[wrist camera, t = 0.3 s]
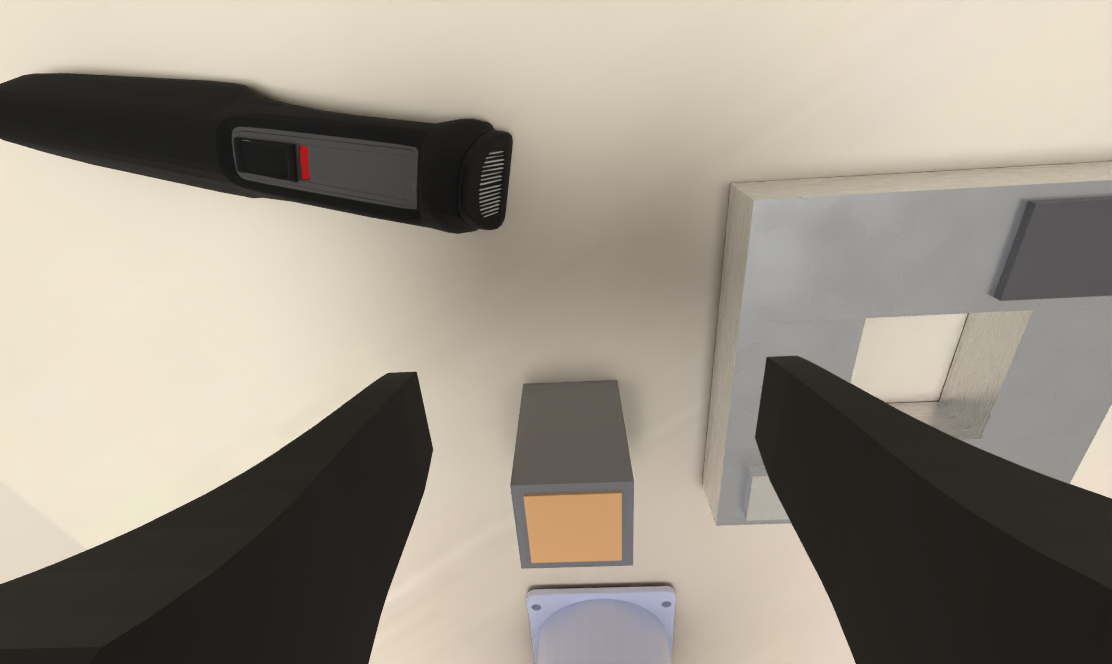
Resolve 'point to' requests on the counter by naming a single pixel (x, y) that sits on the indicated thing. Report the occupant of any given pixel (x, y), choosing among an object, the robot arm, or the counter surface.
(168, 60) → the counter surface
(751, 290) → the socket plate
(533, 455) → the plug
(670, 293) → the counter surface
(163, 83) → the electric trimmer
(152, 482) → the counter surface
